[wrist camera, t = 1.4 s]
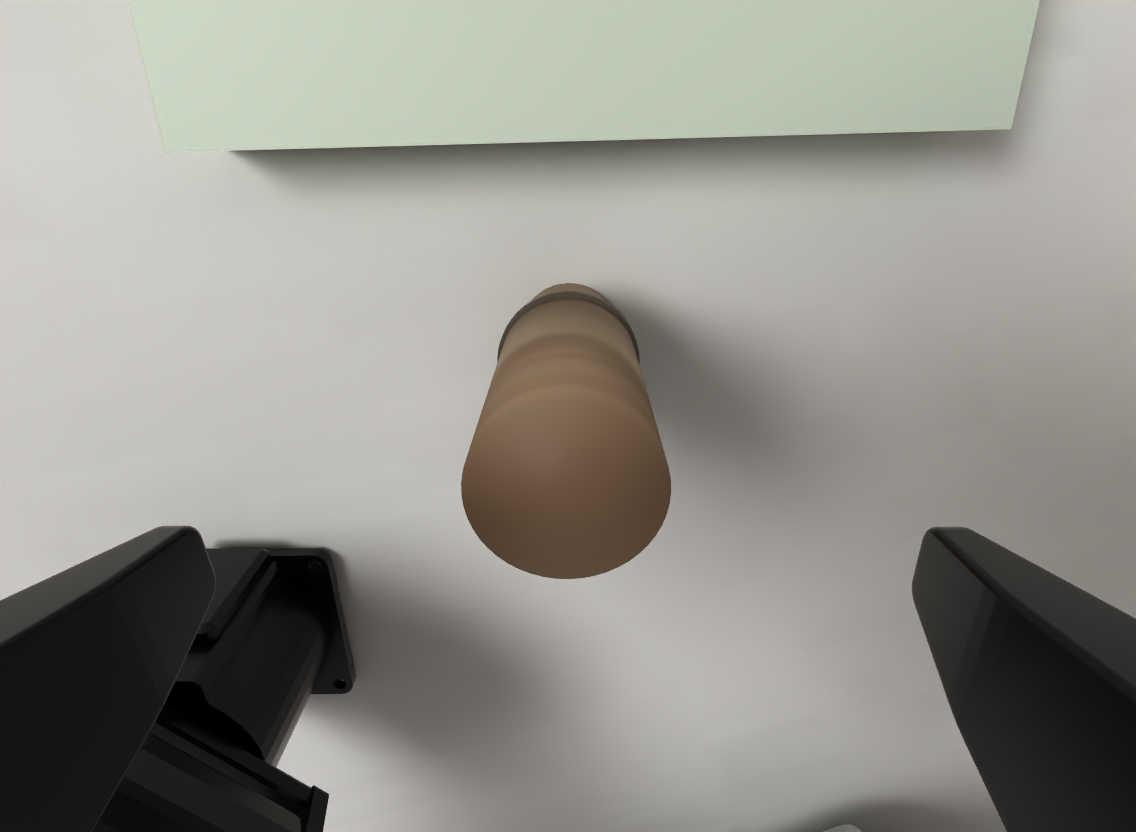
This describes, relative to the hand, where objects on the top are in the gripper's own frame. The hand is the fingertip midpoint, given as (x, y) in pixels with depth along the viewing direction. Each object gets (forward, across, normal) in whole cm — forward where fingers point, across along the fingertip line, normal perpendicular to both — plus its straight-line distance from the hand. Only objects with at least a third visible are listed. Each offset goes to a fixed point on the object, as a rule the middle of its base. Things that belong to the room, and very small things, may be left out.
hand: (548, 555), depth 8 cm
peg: (+13, +1, +2) cm, 13 cm away
